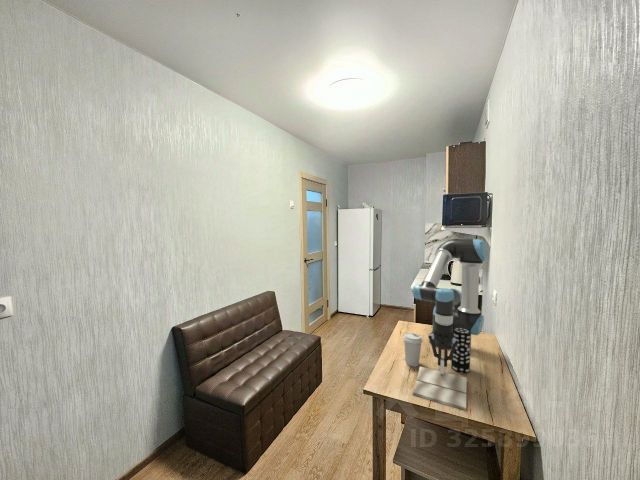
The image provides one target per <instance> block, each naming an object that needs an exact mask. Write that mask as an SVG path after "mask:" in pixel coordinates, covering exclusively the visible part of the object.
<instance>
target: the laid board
mask: <svg viewBox="0 0 640 480" xmlns="http://www.w3.org/2000/svg"><path fill="white" fill-rule="evenodd" d="M412 396H415V397H419V398H422V399H425V400H429V401H432V402H436V403H438V404H443V405H445V406H450V407H453V408H456V409H459V410H463V411H465V412H467V393H466V394H465V393H461V392H458V391H454V390H450V389H446V388H443V387H439V386H435V385H432V384H428V383H424V382H420V381H417V380H415V384H414V387H413V391H412Z"/></svg>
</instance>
